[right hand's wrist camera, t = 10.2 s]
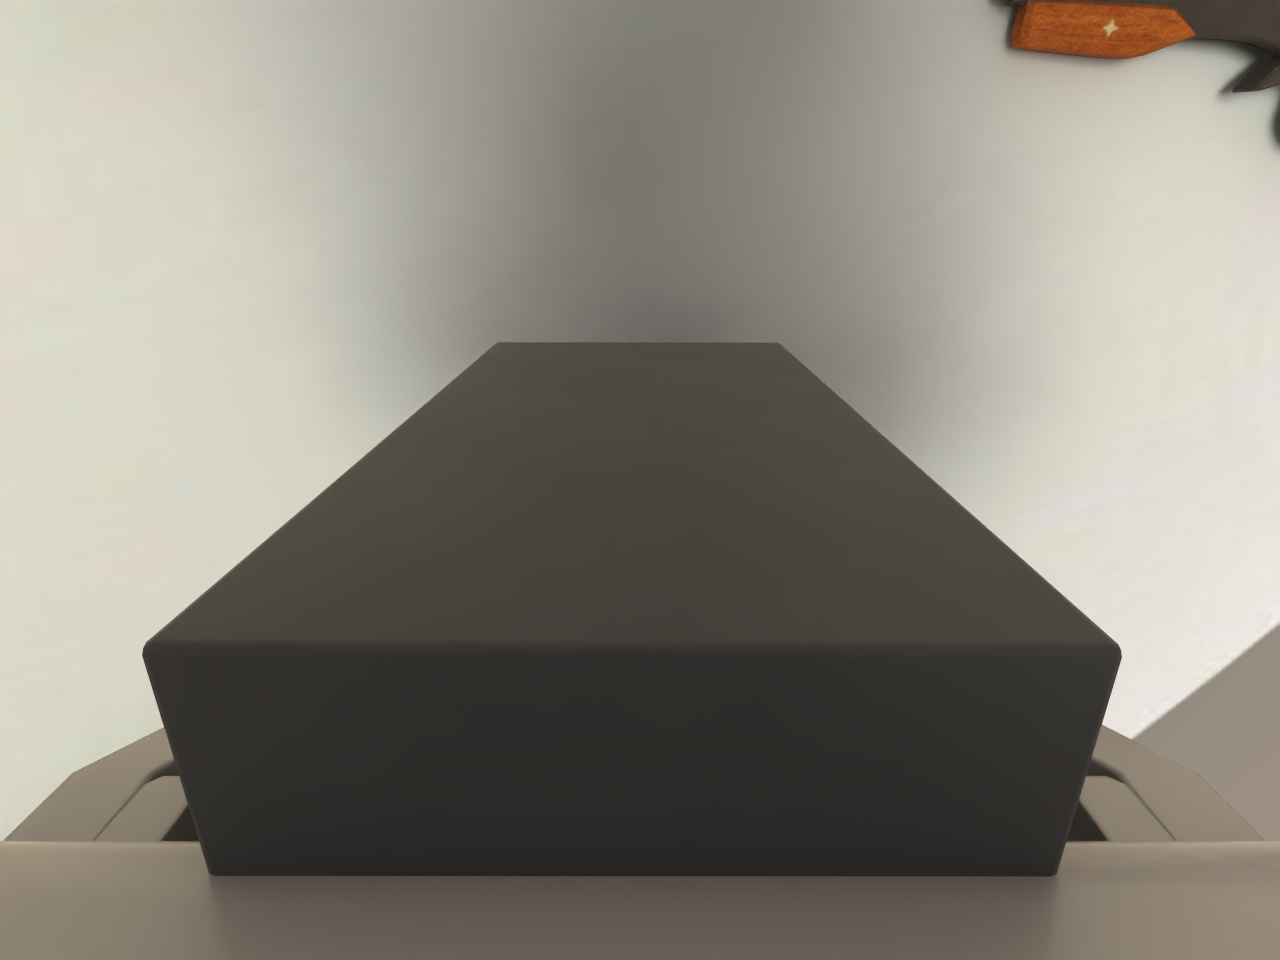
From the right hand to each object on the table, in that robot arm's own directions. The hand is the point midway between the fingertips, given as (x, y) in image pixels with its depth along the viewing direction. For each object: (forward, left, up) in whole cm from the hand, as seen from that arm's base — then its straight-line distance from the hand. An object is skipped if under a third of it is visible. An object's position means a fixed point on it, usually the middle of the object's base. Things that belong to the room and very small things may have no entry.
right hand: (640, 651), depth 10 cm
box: (+7, 0, -6) cm, 9 cm away
